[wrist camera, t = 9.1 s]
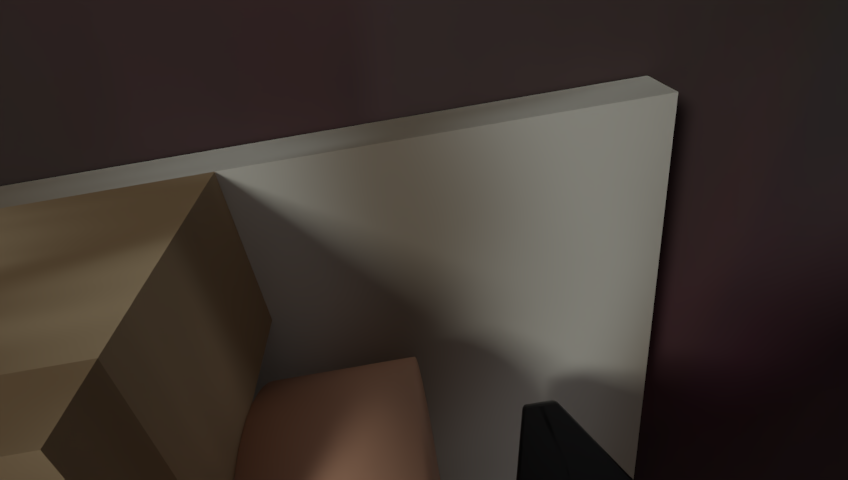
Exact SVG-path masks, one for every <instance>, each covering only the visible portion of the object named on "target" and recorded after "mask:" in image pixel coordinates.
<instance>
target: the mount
mask: <svg viewBox="0 0 848 480" xmlns="http://www.w3.org/2000/svg"><path fill="white" fill-rule="evenodd" d="M677 99H678V92H677V91H675V90H674V89H672V88H670V87H668V86H666V85H664V84H662V83H660V82H659V81H657V80H655V79H653V78H651V77H649V76H642V77H636V78H630V79H625V80H619V81H613V82H607V83H601V84H595V85H589V86H584V87H578V88H572V89H566V90H560V91H554V92H549V93H543V94H537V95H531V96H525V97H519V98H514V99H508V100H502V101H496V102H490V103H484V104H479V105H473V106H467V107H461V108H455V109H449V110H444V111H438V112H432V113H426V114H420V115H414V116H409V117H403V118H397V119H391V120H385V121H379V122H373V123H368V124H362V125H356V126H350V127H344V128H338V129H333V130H327V131H321V132H315V133H309V134H303V135H298V136H292V137H286V138H280V139H274V140H268V141H263V142H257V143H251V144H245V145H239V146H233V147H228V148H222V149H216V150H210V151H204V152H198V153H192V154H187V155H181V156H175V157H169V158H163V159H157V160H152V161H146V162H140V163H134V164H128V165H122V166H117V167H111V168H105V169H99V170H93V171H87V172H82V173H76V174H70V175H64V176H58V177H52V178H47V179H41V180H35V181H29V182H23V183H17V184H12V185H6V186H0V480H233V479H234V475H235V470H236V463H237V456H238V451H239V446H240V441H241V436H242V432H243V429H244V425H245V422H246V418H247V415H248V413H249V410H250V408H251V405H252V403H253V401H254V399H255V397H256V396H257V394H258V393H259V391H260V390H261V389H262V387H263V386H265V385H266V384H267V383H269V382H272V381H276V380H281V379H287V378H293V377H299V376H305V375H310V374H316V373H322V372H328V371H333V370H339V369H345V368H351V367H357V366H362V365H368V364H374V363H380V362H386V361H391V360H397V359H403V358H409V357H414V356H415V357H416V359H417V362H418V365H419V369H420V373H421V377H422V381H423V386H424V391H425V396H426V401H427V406H428V411H429V416H430V422H431V427H432V433H433V439H434V445H435V450H436V456H437V462H438V468H439V475H440V480H516V476H517V464H518V452H519V441H520V429H521V417H522V408H523V406H524V405H525V404H531V403H537V402H543V401H549V400H555V401H557V402H558V403H559V404H560V405H561V406H562V407H563V408H564V409H565V410H566V411H567V412H568V413H569V414H570V415H571V416H572V417H573V418H574V419H575V420H576V421H577V422H578V423H579V424H580V425H581V426H582V427H583V428H584V429H585V431H586V432H587V433H588V434H589V435H590V436H591V437H592V438H593V439H594V440H595V441H596V442H597V443H598V444H599V445H600V446H601V447H602V448H603V449H604V450H605V451H606V452H607V453H608V454H609V455H610V456H611V457H612V458H613V459H614V460H615V461H616V462H617V463H618V464H619V466H620V467H621V468H622V469H623V470H624V471H625V472H626V473H627V474H628V475H629V476H630V477H631V478H632V479H633V480H634V472H635V463H636V454H637V446H638V437H639V428H640V420H641V411H642V402H643V394H644V385H645V376H646V368H647V359H648V350H649V342H650V333H651V324H652V316H653V307H654V299H655V290H656V281H657V273H658V264H659V255H660V247H661V238H662V229H663V221H664V212H665V203H666V195H667V186H668V177H669V169H670V160H671V151H672V143H673V134H674V125H675V117H676V108H677Z"/></svg>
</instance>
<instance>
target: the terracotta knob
mask: <svg viewBox="0 0 848 480" xmlns="http://www.w3.org/2000/svg"><path fill="white" fill-rule="evenodd" d="M233 480H440V475H439V468H438V462H437V456H436V450H435V445H434V439H433V433H432V427H431V422H430V416H429V411H428V406H427V401H426V396H425V391H424V386H423V381H422V377H421V373H420V369H419V365H418V362H417V359H416V357H415V356H414V357H409V358H403V359H397V360H391V361H386V362H380V363H374V364H368V365H362V366H357V367H351V368H345V369H339V370H333V371H328V372H322V373H316V374H310V375H305V376H299V377H293V378H287V379H281V380H276V381H272V382H269V383H267V384H266V385H265V386H263V387H262V389H261V390H260V391H259V393H258V394H257V396H256V397H255V399H254V401H253V403H252V405H251V408H250V410H249V413H248V415H247V418H246V422H245V425H244V429H243V432H242V436H241V441H240V446H239V451H238V456H237V463H236V470H235V475H234V479H233Z"/></svg>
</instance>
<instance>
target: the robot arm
mask: <svg viewBox="0 0 848 480" xmlns="http://www.w3.org/2000/svg"><path fill="white" fill-rule="evenodd" d="M516 480H633V479H632V478H631V477H630V476H629V475H628V474H627V473H626V472H625V471H624V470H623V469H622V468H621V467H620V466H619V464H618V463H617V462H616V461H615V460H614V459H613V458H612V457H611V456H610V455H609V454H608V453H607V452H606V451H605V450H604V449H603V448H602V447H601V446H600V445H599V444H598V443H597V442H596V441H595V440H594V439H593V438H592V437H591V436H590V435H589V434H588V433H587V432H586V431H585V429H584V428H583V427H582V426H581V425H580V424H579V423H578V422H577V421H576V420H575V419H574V418H573V417H572V416H571V415H570V414H569V413H568V412H567V411H566V410H565V409H564V408H563V407H562V406H561V405H560V404H559V403H558V402H557V401H555V400H549V401H543V402H537V403H531V404H525V405H524V406H523V408H522V417H521V429H520V441H519V452H518V464H517V476H516Z"/></svg>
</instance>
